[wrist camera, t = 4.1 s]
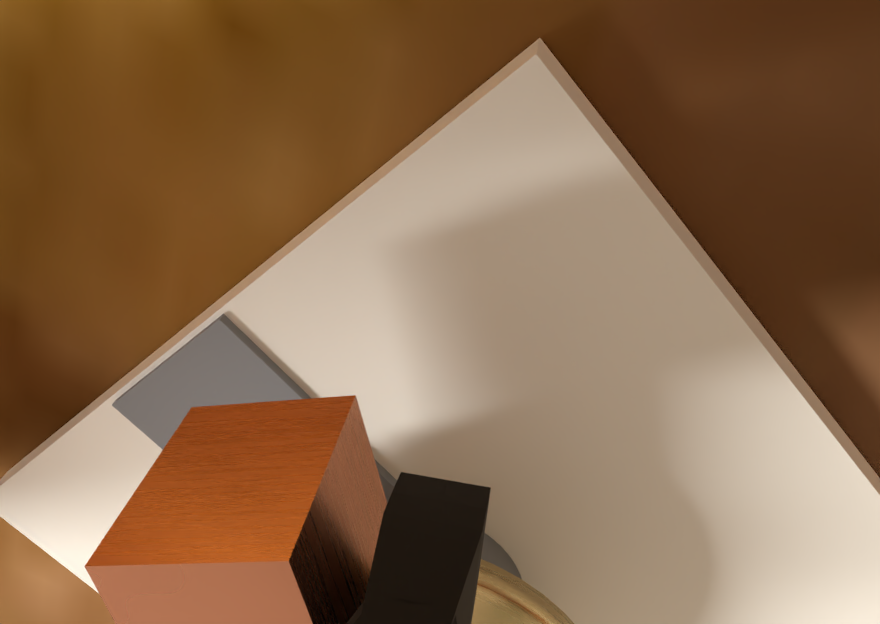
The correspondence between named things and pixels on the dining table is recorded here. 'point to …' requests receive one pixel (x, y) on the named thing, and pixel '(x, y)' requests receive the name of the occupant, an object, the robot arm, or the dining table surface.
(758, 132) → the dining table surface
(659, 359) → the board
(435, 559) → the robot arm
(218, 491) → the lever handle
